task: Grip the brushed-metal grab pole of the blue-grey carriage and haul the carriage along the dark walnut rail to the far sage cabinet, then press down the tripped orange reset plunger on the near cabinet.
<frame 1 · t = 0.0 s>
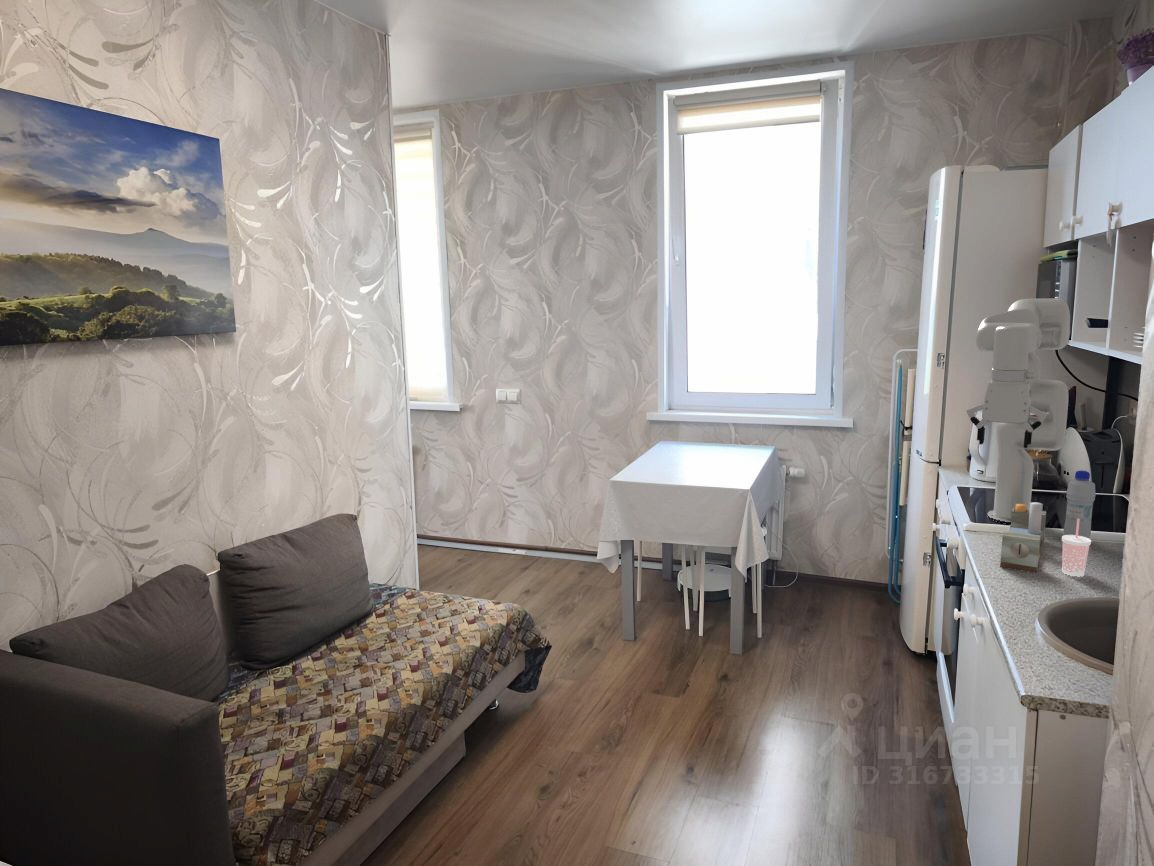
hand: (1003, 445, 191), 31 cm above the countertop, tool pointing down, fingers open, 9 cm apart
beverage cup: (1072, 574, 190), on the countertop
rail stand: (1022, 553, 205), on the countertop
reset button: (1020, 512, 214), point 8 cm above the countertop, slide at 0.0 cm
bottle: (1076, 542, 213), on the countertop
carriage: (1026, 521, 206), point 8 cm above the countertop, slide at 0.0 cm
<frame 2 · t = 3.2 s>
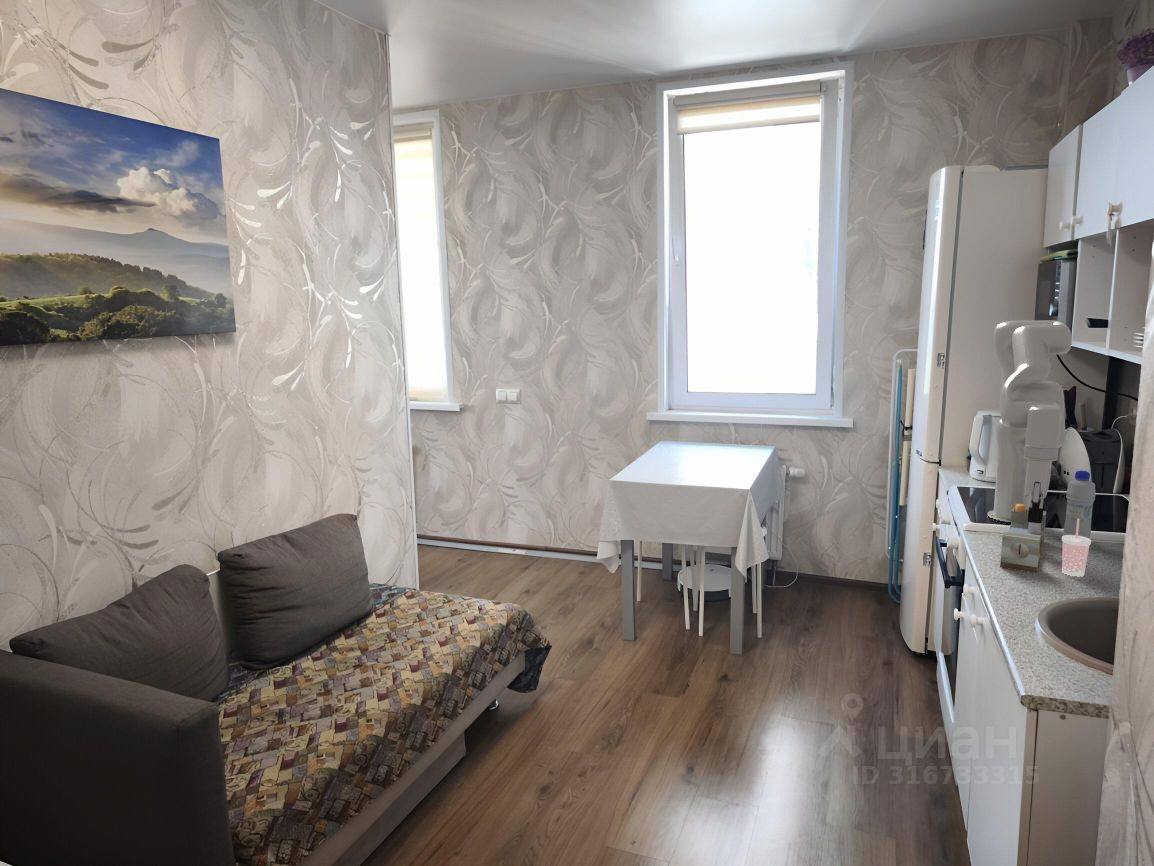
hand: (1035, 520, 205), 9 cm above the countertop, tool pointing down, fingers closed on carriage, 2 cm apart
carriage: (1026, 521, 206), point 8 cm above the countertop, slide at 0.0 cm, touching gripper
everything else where it was.
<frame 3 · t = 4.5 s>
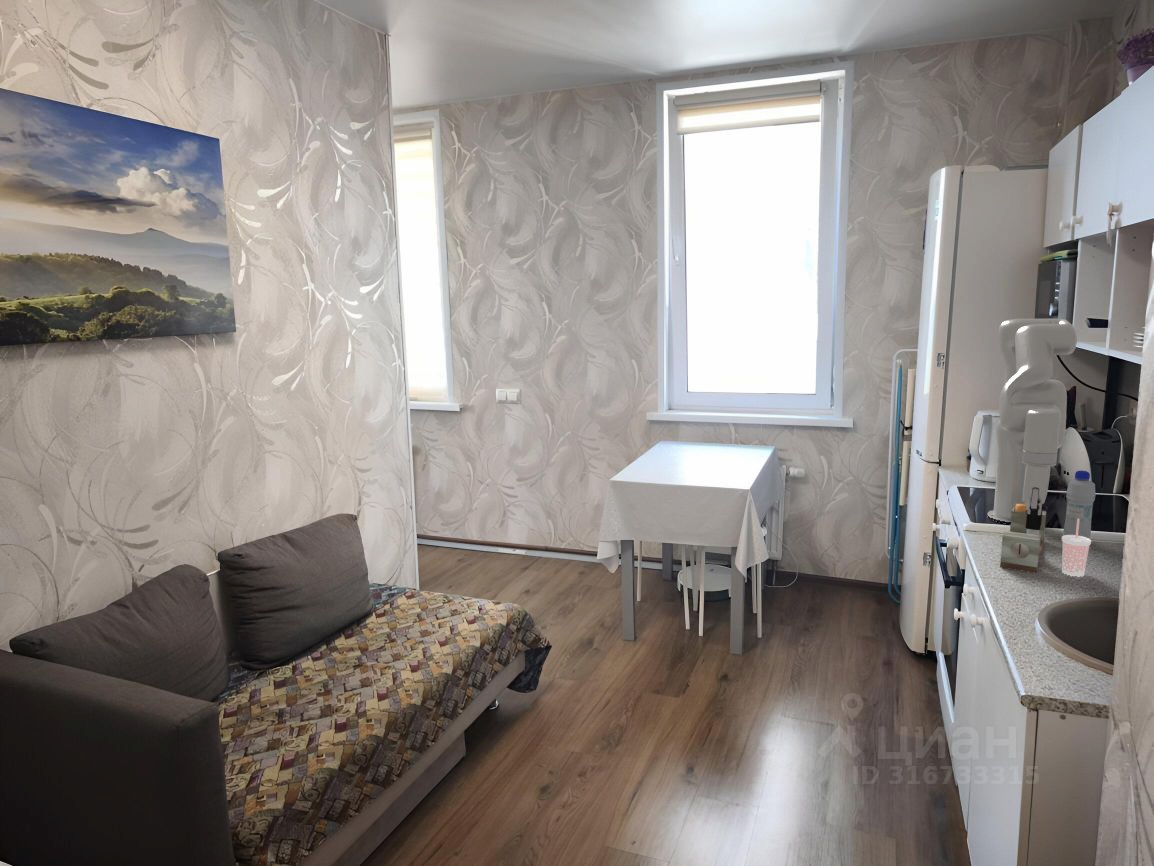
hand: (1033, 526, 199), 9 cm above the countertop, tool pointing down, fingers closed on carriage, 2 cm apart
carriage: (1024, 528, 201), point 8 cm above the countertop, slide at 6.5 cm, touching gripper
everything else where it was.
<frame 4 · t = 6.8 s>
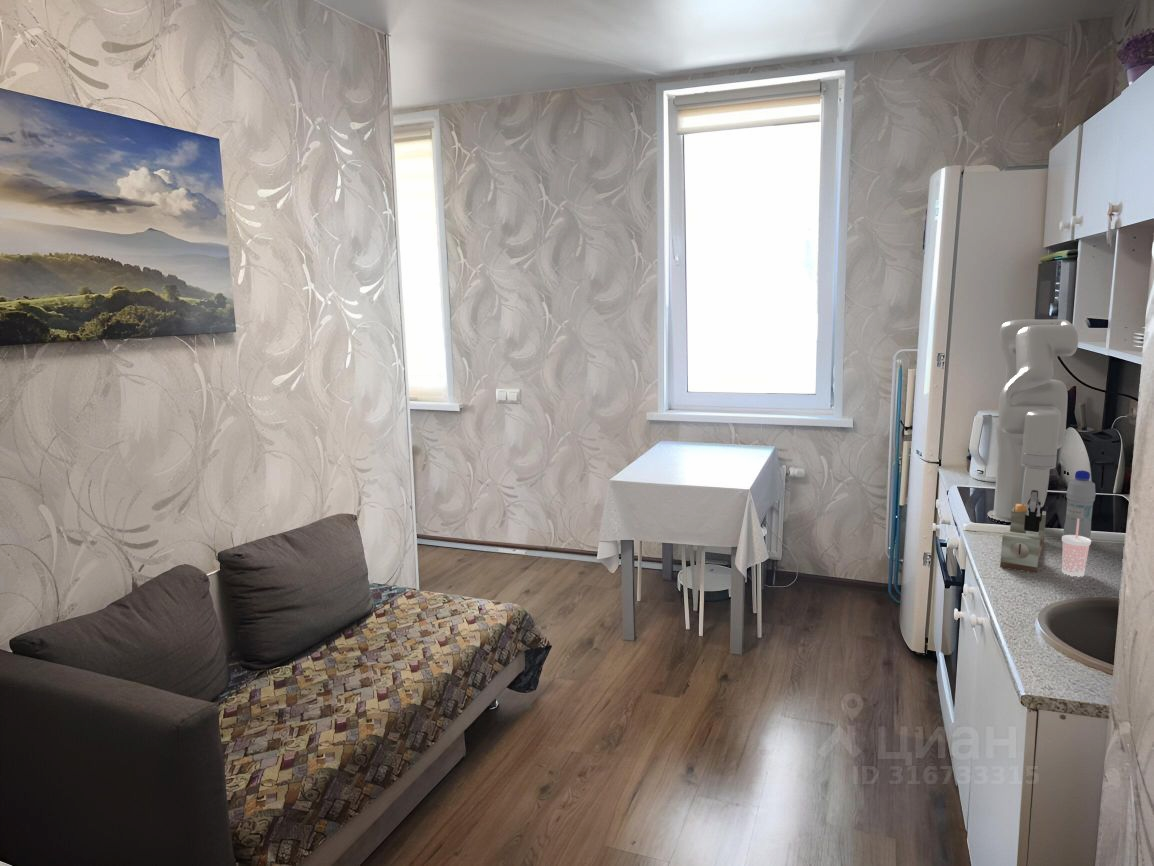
hand: (1032, 525, 197), 10 cm above the countertop, tool pointing down, fingers open, 9 cm apart
carriage: (1023, 531, 198), point 8 cm above the countertop, slide at 9.5 cm
everything else where it was.
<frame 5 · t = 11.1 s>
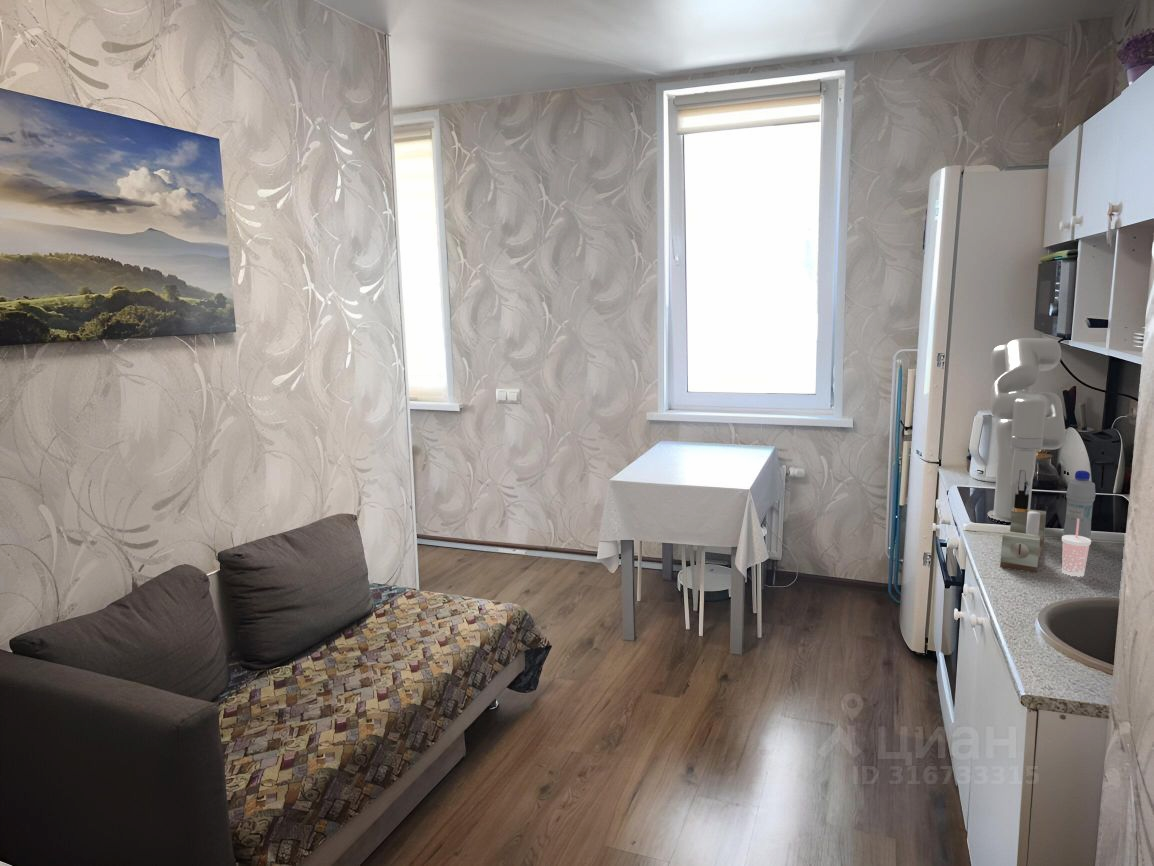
hand: (1020, 507, 214), 9 cm above the countertop, tool pointing down, fingers closed
reset button: (1020, 514, 214), point 7 cm above the countertop, slide at 0.8 cm, touching gripper
everything else where it was.
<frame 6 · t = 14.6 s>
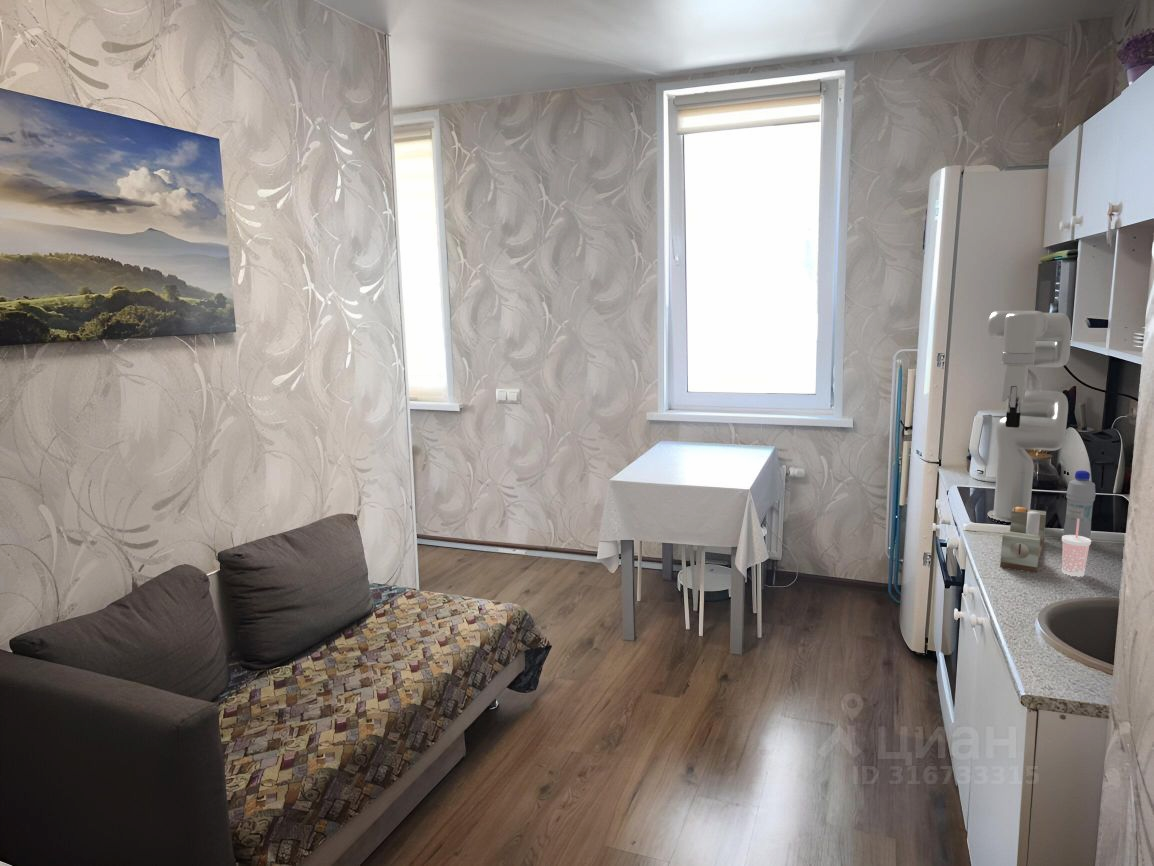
hand: (1012, 426, 210), 32 cm above the countertop, tool pointing down, fingers closed
reset button: (1020, 515, 214), point 7 cm above the countertop, slide at 0.9 cm
everything else where it was.
at the end: carriage slide at 9.5 cm; reset button slide at 0.9 cm; the gripper is holding nothing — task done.
